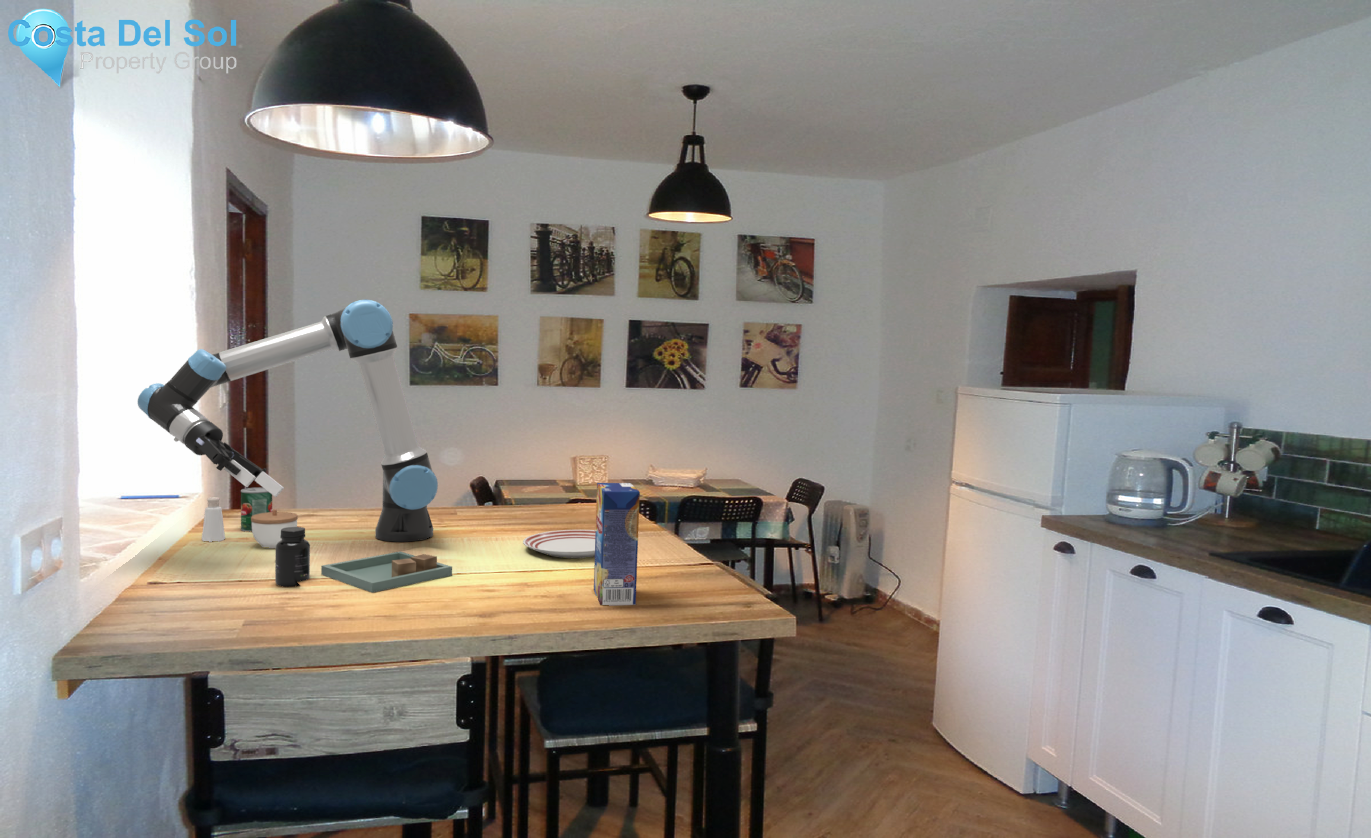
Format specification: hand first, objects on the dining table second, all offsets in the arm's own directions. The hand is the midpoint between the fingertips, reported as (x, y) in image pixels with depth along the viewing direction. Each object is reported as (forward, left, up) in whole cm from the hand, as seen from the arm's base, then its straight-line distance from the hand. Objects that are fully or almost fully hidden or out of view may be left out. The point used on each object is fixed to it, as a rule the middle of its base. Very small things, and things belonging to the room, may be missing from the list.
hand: (265, 487), depth 193 cm
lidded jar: (-13, -23, -19) cm, 33 cm away
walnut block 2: (-21, +29, -18) cm, 41 cm away
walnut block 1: (-16, +30, -18) cm, 38 cm away
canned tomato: (-19, -45, -19) cm, 52 cm away
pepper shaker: (-5, -39, -19) cm, 44 cm away
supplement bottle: (+1, +13, -19) cm, 24 cm away
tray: (-15, +24, -19) cm, 35 cm away
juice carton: (-41, +69, -19) cm, 83 cm away
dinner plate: (-66, +32, -20) cm, 76 cm away
